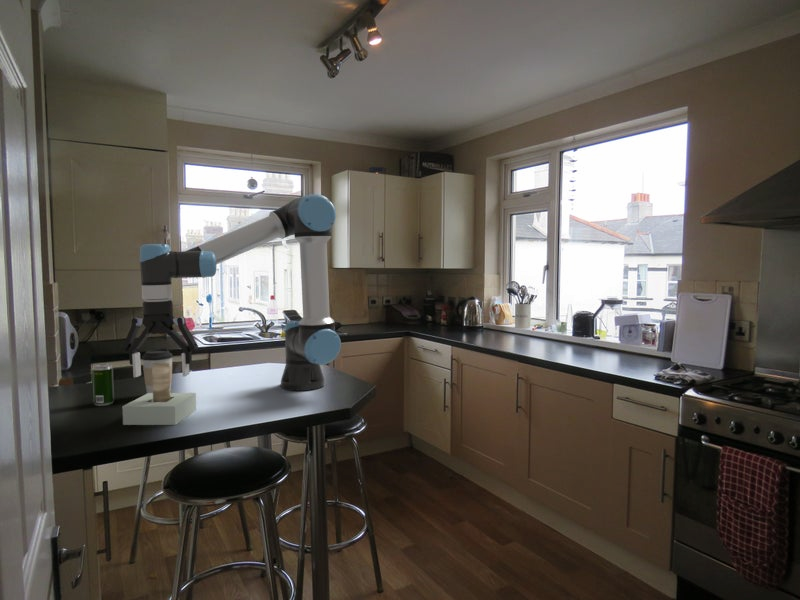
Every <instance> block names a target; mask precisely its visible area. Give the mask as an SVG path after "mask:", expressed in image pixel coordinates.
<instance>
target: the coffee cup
mask: <svg viewBox="0 0 800 600" xmlns="http://www.w3.org/2000/svg"><path fill="white" fill-rule="evenodd" d="M141 360H142V364H143V365H142V370H143V376H144V378H143V379H144V384H145V390H146V394H147V393H153V379H152V364H154V363H162V362H167V363H169V365H170V393H172V392H171V389H172V388H171V387H172V386H171V385H172V376H173V353H172V352H170V351H169V350H168V349H167V348H162V347H161V348H159V349H152V350H148V351H145V352H144V354H143V355H142V357H141Z"/></svg>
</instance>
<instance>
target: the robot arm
mask: <svg viewBox="0 0 800 600" xmlns="http://www.w3.org/2000/svg"><path fill="white" fill-rule="evenodd" d="M336 214H337V213H336V208H335V206H334V204H333V203H332V202H331V200H330V199H329V198H327V197H326V196H325V195H322V194H318V193H317V194H316V193H314V194H306V195H304V196H301V197H298V198H297V197H296V198H295V199H293V200H291V201H289V202H287V203H286V204H284V205H282V206H281V207H279V208H277V209H275V210H272V211H270V212H269V213H268V215H267V216H266V217H263V218H261V219H259V220H256V221H254V222H252V223H249V224H247V225H245V226H242V227H240V228H238V229H234V230H233V231H231V232H228V233H225V234H223V235H221V236H218V237H216V238H213V239H211V240H209V241H205V242H204V243H201V244H200V245H197V246H195V247H191V248H190V249H187V250H185V251H175V250H171V247H170V245H169V244H166V243H163V244H162V243H149V244H148V243H147V244H143V245H141V246H140V247H139V265H140V280H141V282H140V283H141V299H142V300H144V301H143V302H142V315H143V318H140V317H133V318H132V319H131V324H130V325H131V326H130V328H129V331H128V333H127V336H126V337H125V340H124V341H123V345H122V347H121V351H122V352H124V353H125V352H126V353H128V356H129V365H130V366H132V372H133V375H132V376H133V378H138V377H140V376H142V367H141V364H142V363H141V353H140V351H139V352H138V350H139V349H140V348H141V347H142V345H143V344H144V343H145V341H146V340H147V339H148V338H149V336H151V335H156V334H159V335H165V334H166V335H167V336H168V337H170V338H171V339H172V340H173V341H174V342H175V344H176V345H177V346H178V347H179V348H180V349H181V350H182V351H183V352H182V353H181V354H180V355H181V369H182V377H187V376H189V375H190V364H192V362H193V359H192V357H193V356H192V355H193V354H192V352H193V351H194V350H198V349H199V345H198V343H197V342H196V340H195V338H194V336H193V334H192V332H191V330H190V329H189V327H188V326H187V323H186V317H185V316H181V317H176V318H175V317H174V307H173V306H174V305H173V303H174V302H173V301H172V300H171V299H172V298H173V288H172V279H182V278H183V279H184V278H185V279H186V278H187V279H188V278H189V279H193V278H195V279H196V278H197V279H198V278H202V279H204V278H212V277H214V276H215V275H216V273H217V265H219V264H221V263H223V262H225V261H228V260H230V259H232V258H234V257H237V256H239V255H241V254H244V253H246V252H248V251H250V250H253V249H255V248H258V247H260V246H263V245H264V244H268V243H269V242H271V241H273V240H276V239H278V238H279V239H282V240H283V239H285V238H287V237H291V236H294V240H296V241H297V242H298V243H299V255H300V256H299V257H300V279H301V280H300V281H301V298H302V300H301V301H302V304H301V305H302V318H301V319H300V320H299V321H298V320H297V321H296V320H295V321H287V322H286V324H285V325H284V326H285V327H284V336H285V337H284V340H285V341H284V342H285V343H284V346H285V366H284V369H283V373H282V376H281V379H280V387H281V389H284V390H286V389H287V391H295V390H297V391H299V392H300V391H303V392H304V391H312V390H311V389H313V390H318V389H320V387H321V388H322V386H323V387H325V385H324V384H325V383H326V382H325V381H326V380H325V376H324V373H323V370H322V367H321V365H327V364H330V363H331V362H333V361H335V359H336V358H337V357H338V356H339V353H340V351H341V347H342V341H341V338H340V336H339V335H338V333H337V332H336V326H335V325H336V323H335V320H334V319H333V318H332V317H331V316H330V295H329V294H330V293H329V292H330V291H329V268H328V267H329V266H328V246H327V245H328V242H329V241H330V239H331V238H332V227H333V225H334V224H335V222H336V217H337V215H336ZM174 324H175V326H177V327H178V329H179V331H180V332H181V334H182V335H180V334H179V333H178V332H177V329H176V327H174V326H173V325H174ZM142 325H143V326H144V327H145V328H144V330H143V331H142V332H141V334H140V335H139V337H137V339H136V336H137V335H138V332H139V329H140V327H141V326H142ZM182 336H183V337H182ZM135 339H136V340H135ZM134 341H135V342H134ZM317 388H318V389H317ZM297 391H296V392H297Z"/></svg>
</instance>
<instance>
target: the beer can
mask: <svg viewBox="0 0 800 600" xmlns="http://www.w3.org/2000/svg"><path fill="white" fill-rule="evenodd" d="M112 365H113V364H112V363H99V364H94V365H92V369H91V370H92V393H93V394H92V395H93V405H94V406H96V407H104V406H110V405H112V404H114V401H115V392H114V367H113V366H112Z"/></svg>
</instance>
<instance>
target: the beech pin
mask: <svg viewBox="0 0 800 600" xmlns="http://www.w3.org/2000/svg"><path fill="white" fill-rule="evenodd" d="M152 379H153V402H167V401H169V400H170V393H171V392H170V365H169V363H167V362H162V363H154V364H152Z"/></svg>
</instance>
